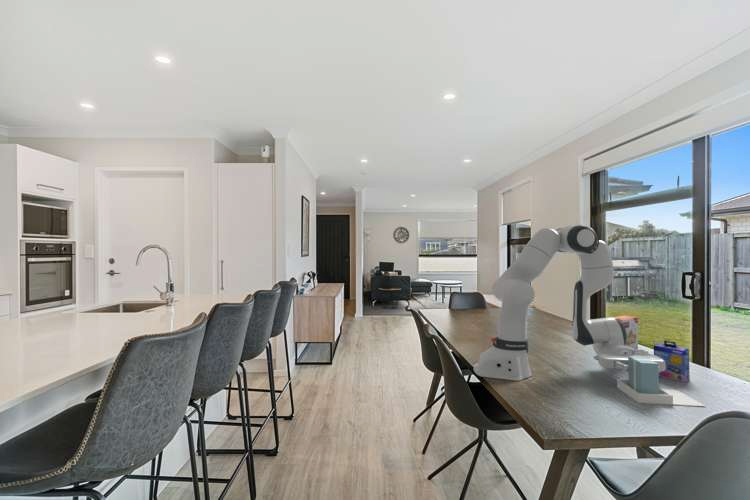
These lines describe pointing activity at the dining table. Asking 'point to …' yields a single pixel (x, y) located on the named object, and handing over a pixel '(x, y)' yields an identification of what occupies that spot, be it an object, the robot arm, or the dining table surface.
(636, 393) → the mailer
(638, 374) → the gift box
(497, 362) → the robot arm
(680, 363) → the ink cartridge box
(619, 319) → the cracker box
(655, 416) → the dining table surface
